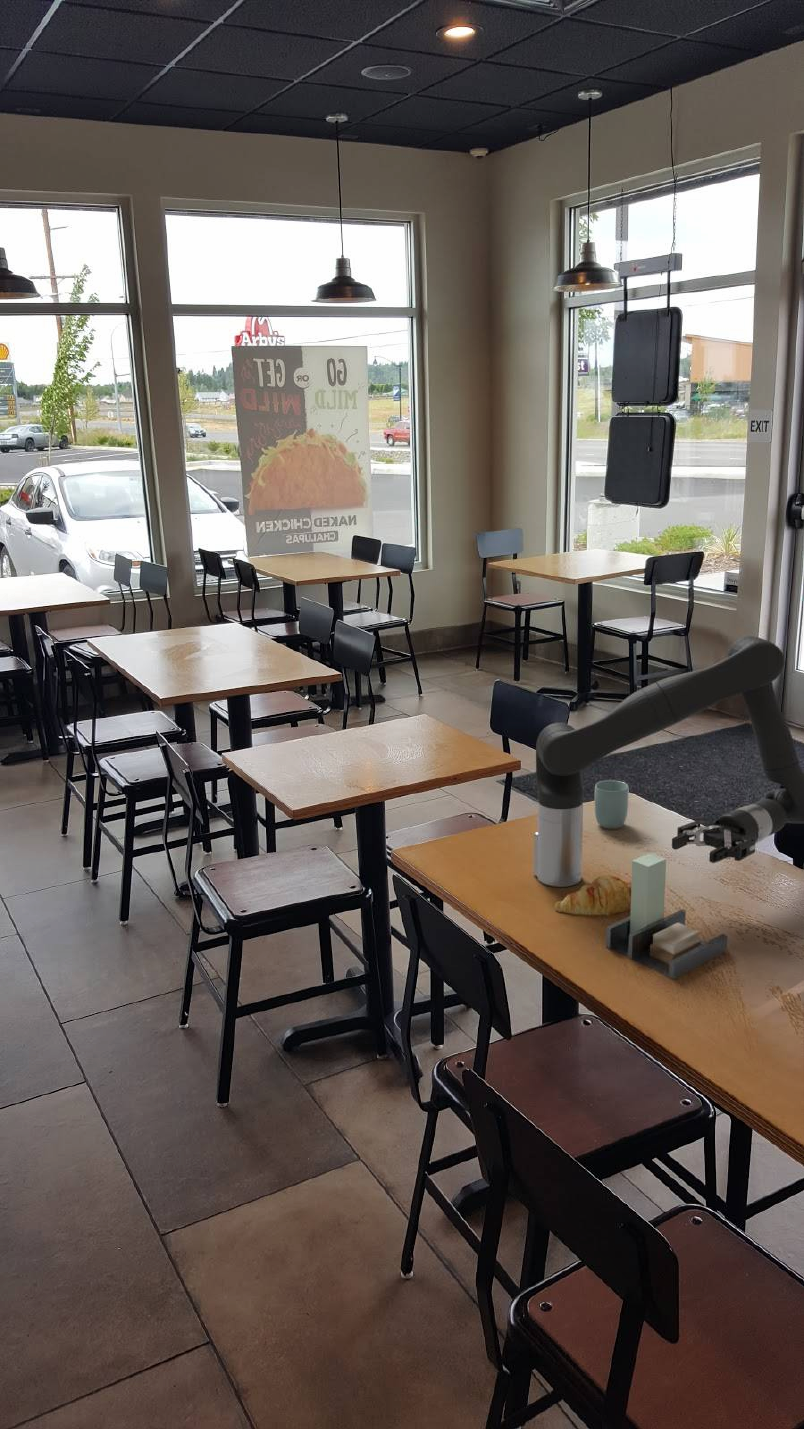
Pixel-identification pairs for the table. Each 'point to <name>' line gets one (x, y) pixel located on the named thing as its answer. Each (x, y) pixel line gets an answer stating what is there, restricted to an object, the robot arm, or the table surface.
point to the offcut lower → (668, 956)
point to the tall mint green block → (647, 891)
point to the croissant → (598, 897)
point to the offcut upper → (676, 938)
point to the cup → (611, 803)
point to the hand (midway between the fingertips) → (692, 851)
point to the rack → (640, 942)
